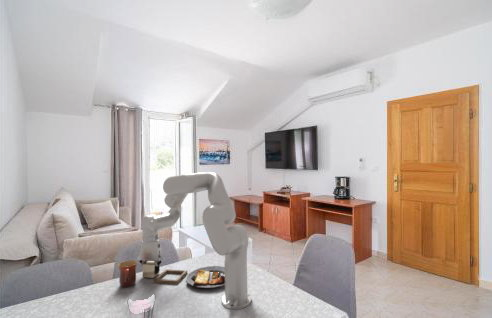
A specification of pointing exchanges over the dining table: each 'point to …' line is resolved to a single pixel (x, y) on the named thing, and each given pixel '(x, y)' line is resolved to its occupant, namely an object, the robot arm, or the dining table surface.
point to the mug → (127, 273)
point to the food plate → (207, 277)
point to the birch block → (149, 269)
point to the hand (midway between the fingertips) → (151, 272)
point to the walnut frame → (166, 281)
